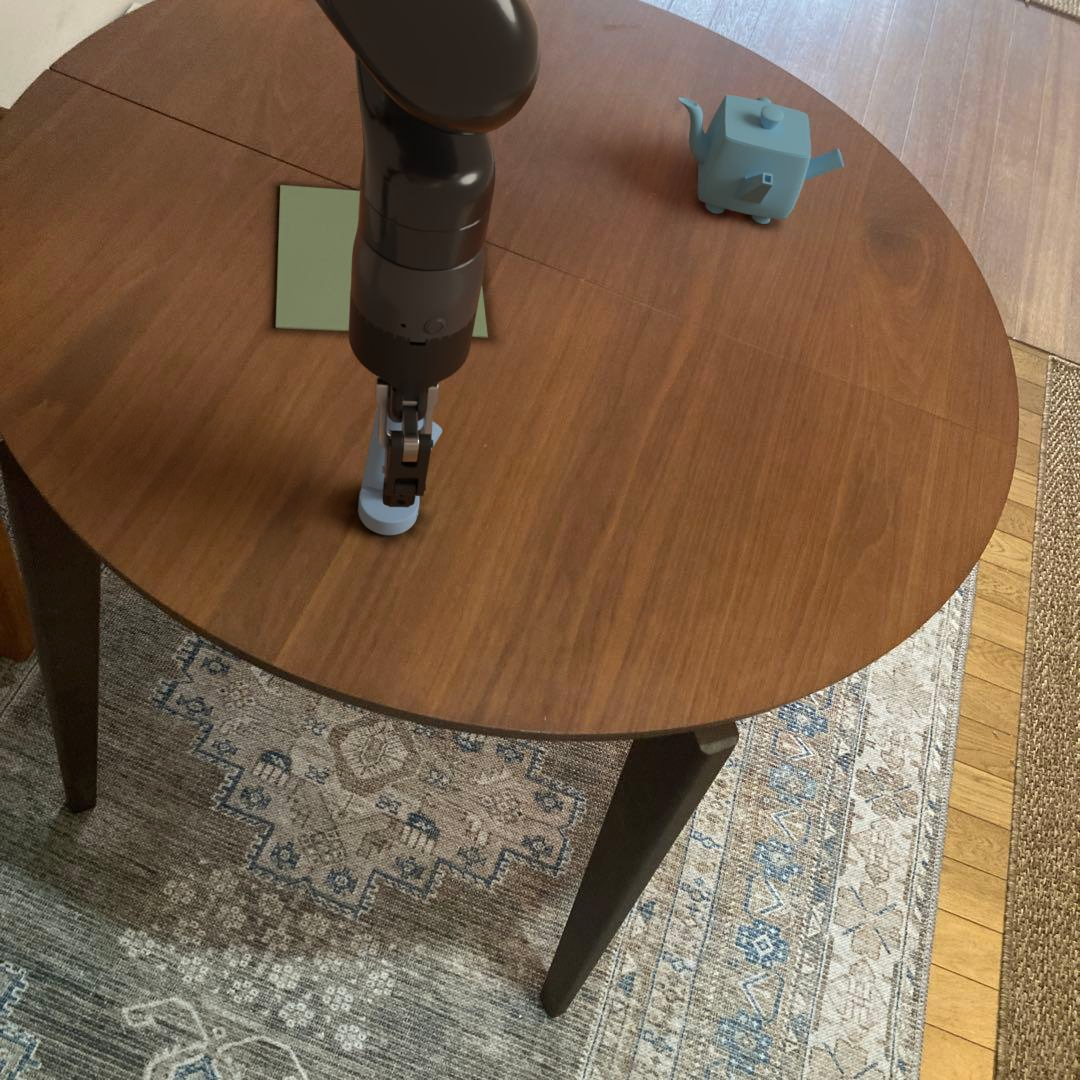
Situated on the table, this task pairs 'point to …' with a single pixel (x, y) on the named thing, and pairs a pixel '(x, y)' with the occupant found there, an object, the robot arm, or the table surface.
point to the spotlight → (372, 488)
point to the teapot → (754, 157)
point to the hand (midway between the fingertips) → (396, 458)
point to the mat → (321, 259)
